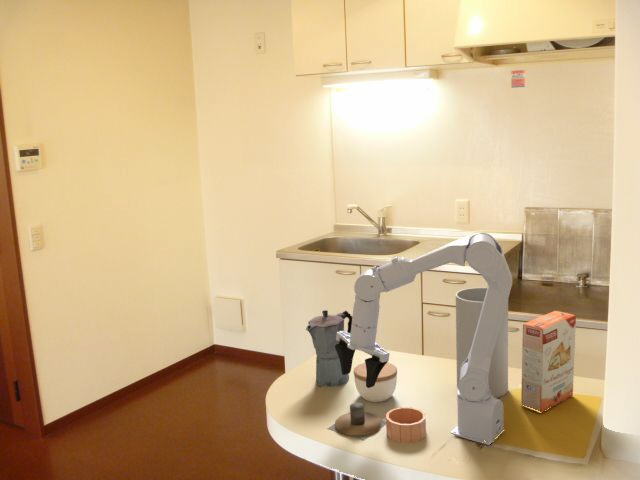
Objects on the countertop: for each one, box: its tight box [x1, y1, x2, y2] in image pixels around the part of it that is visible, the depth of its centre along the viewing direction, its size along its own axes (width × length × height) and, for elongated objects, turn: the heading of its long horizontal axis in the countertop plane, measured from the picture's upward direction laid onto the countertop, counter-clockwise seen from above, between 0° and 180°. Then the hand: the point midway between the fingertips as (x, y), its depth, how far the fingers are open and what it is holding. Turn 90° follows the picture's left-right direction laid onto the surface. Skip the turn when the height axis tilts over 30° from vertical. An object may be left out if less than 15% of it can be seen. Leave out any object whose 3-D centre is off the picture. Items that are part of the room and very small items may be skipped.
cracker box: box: [520, 310, 577, 413], centre depth 158 cm, size 14×6×21 cm, turn 129°
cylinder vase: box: [455, 287, 509, 399], centre depth 166 cm, size 12×12×25 cm
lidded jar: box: [353, 362, 398, 403], centre depth 166 cm, size 11×11×9 cm
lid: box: [334, 402, 382, 437], centre depth 152 cm, size 10×10×5 cm
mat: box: [326, 419, 386, 441], centre depth 153 cm, size 10×10×1 cm
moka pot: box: [305, 310, 353, 387], centre depth 177 cm, size 10×15×20 cm, turn 132°
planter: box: [385, 406, 427, 444], centre depth 148 cm, size 9×9×4 cm
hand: (357, 379), depth 152 cm, fingers open, 7 cm apart
